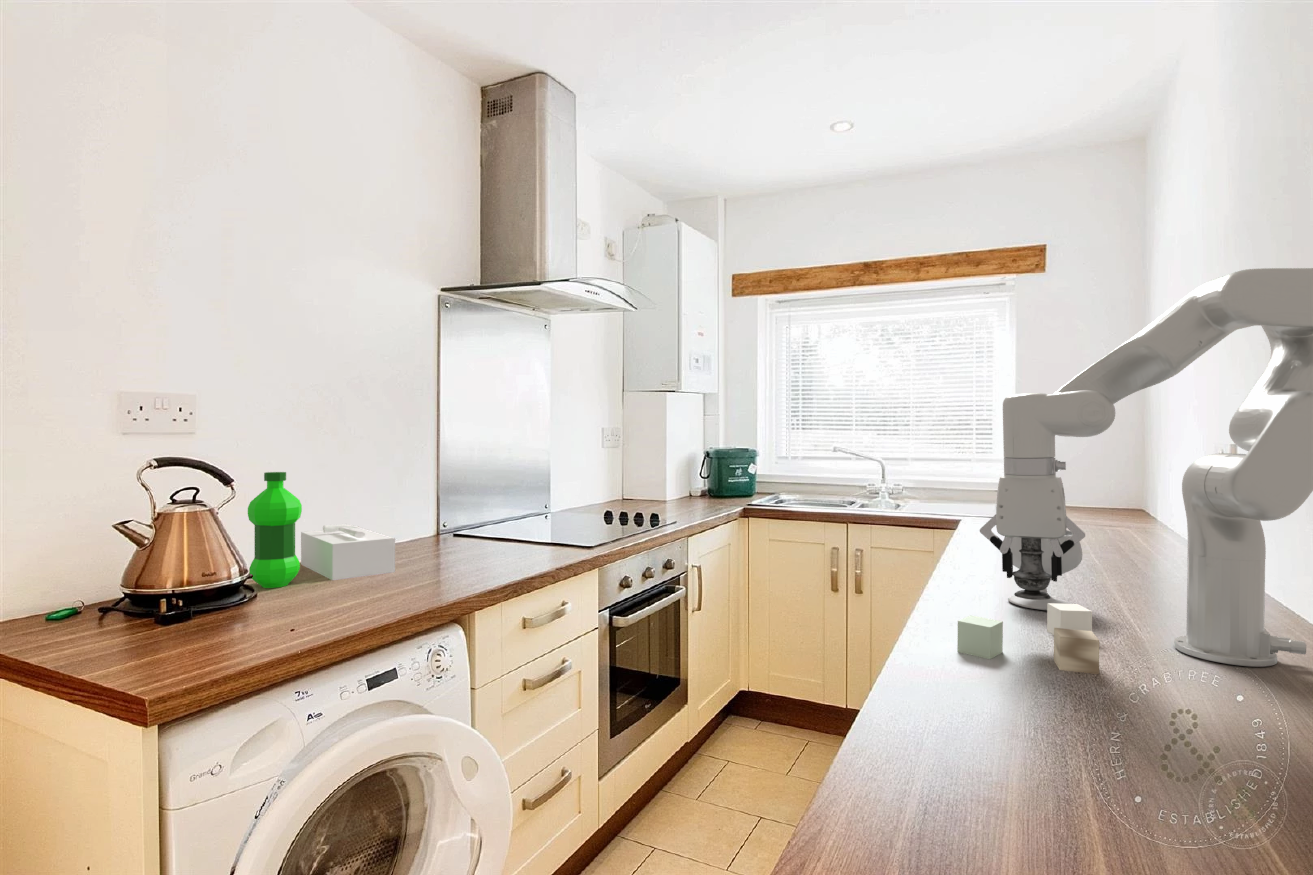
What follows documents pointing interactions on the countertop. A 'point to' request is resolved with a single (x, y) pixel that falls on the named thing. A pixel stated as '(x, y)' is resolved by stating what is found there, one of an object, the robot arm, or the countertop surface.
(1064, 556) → the chalice
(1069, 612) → the cream painted cube
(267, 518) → the plastic bottle
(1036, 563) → the salt shaker
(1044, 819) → the countertop surface
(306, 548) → the tissue box
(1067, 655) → the beech cube
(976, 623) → the sage painted cube
